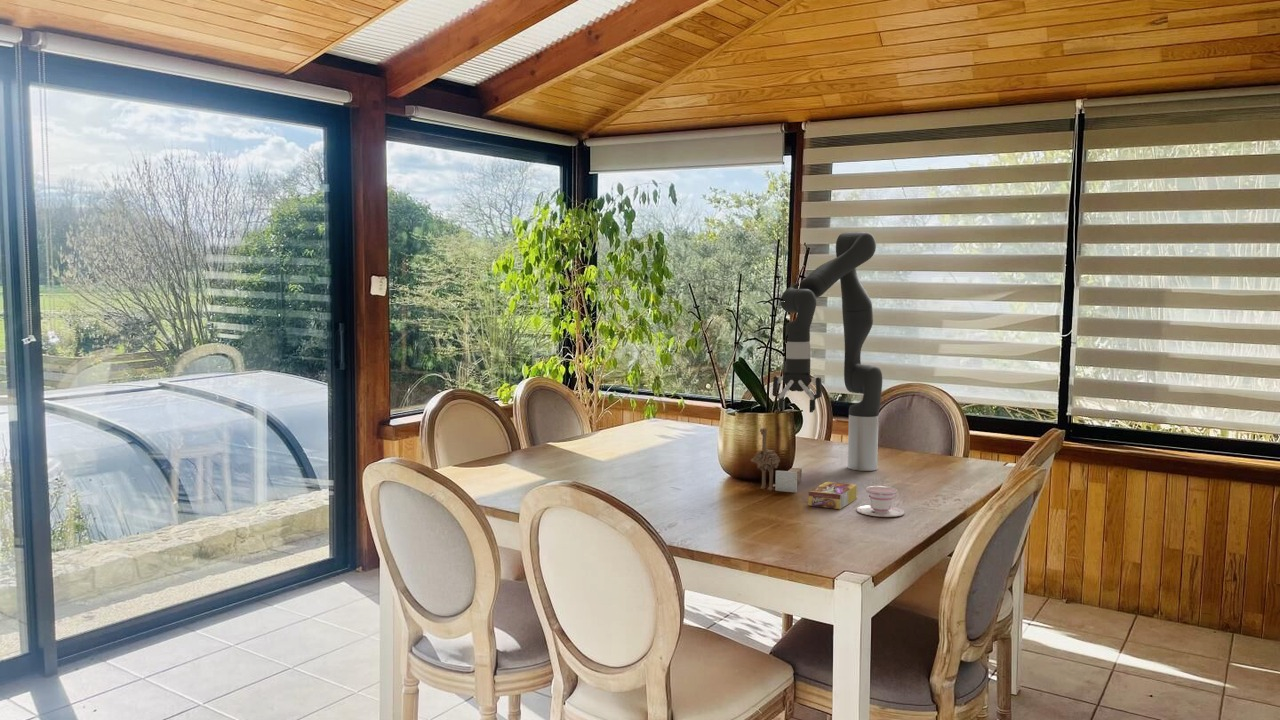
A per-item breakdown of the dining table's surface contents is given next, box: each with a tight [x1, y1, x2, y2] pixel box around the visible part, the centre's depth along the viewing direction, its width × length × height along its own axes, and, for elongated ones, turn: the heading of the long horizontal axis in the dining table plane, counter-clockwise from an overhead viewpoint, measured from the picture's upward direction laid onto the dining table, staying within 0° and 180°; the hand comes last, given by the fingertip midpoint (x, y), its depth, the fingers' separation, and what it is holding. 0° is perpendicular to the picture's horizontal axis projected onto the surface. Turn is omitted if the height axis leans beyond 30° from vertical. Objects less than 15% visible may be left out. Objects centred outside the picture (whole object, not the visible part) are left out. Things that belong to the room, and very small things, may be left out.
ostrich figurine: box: [750, 427, 781, 491], centre depth 266 cm, size 17×7×18 cm, turn 139°
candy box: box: [808, 481, 858, 510], centre depth 247 cm, size 9×4×15 cm
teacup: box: [856, 485, 905, 518], centre depth 237 cm, size 12×12×6 cm
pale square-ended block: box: [774, 467, 803, 494], centre depth 267 cm, size 15×6×6 cm, turn 159°
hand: (796, 411), depth 272 cm, fingers open, 8 cm apart
